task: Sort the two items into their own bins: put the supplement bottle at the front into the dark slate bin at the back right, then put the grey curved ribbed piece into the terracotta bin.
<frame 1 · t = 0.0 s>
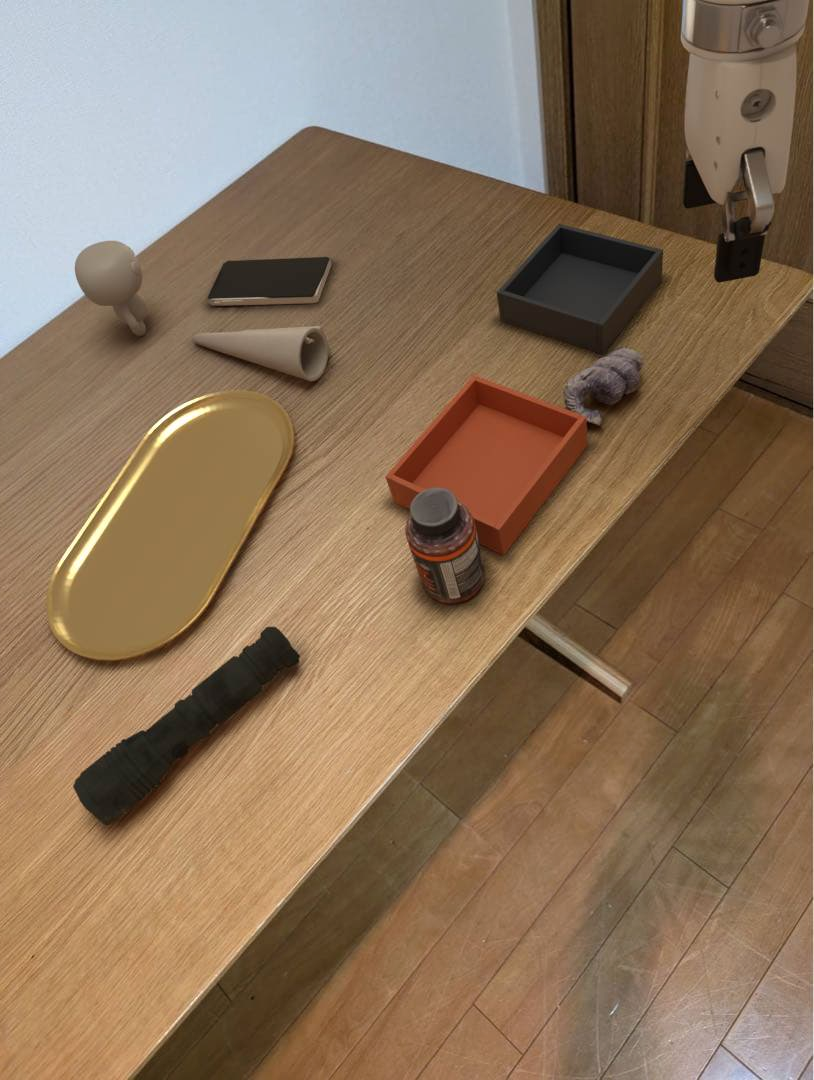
hand: (718, 238, 67), 20 cm above the table, tool pointing down, fingers open, 9 cm apart
long tapered cone: (253, 364, 102), on the table
grey curved ribbed piece: (605, 399, 88), on the table
supplement bottle: (454, 579, 79), on the table
terracotta bin: (490, 473, 85), on the table
figurine: (142, 330, 111), on the table
serving platter: (181, 520, 90), on the table
smartphone: (271, 286, 110), on the table
slate bin: (580, 300, 97), on the table
flashlight: (204, 732, 75), on the table
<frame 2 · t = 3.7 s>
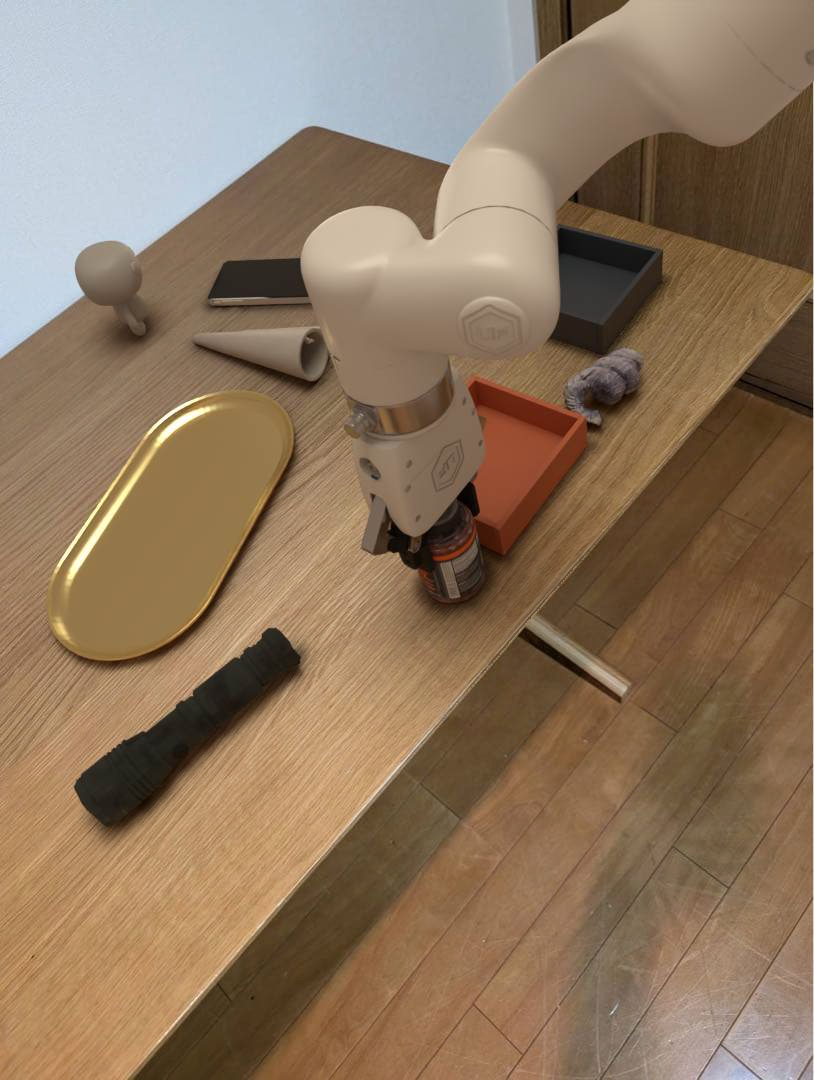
hand: (441, 535, 73), 7 cm above the table, tool pointing down, fingers closed on supplement bottle, 5 cm apart
supplement bottle: (454, 579, 79), on the table, touching gripper
everything else where it was.
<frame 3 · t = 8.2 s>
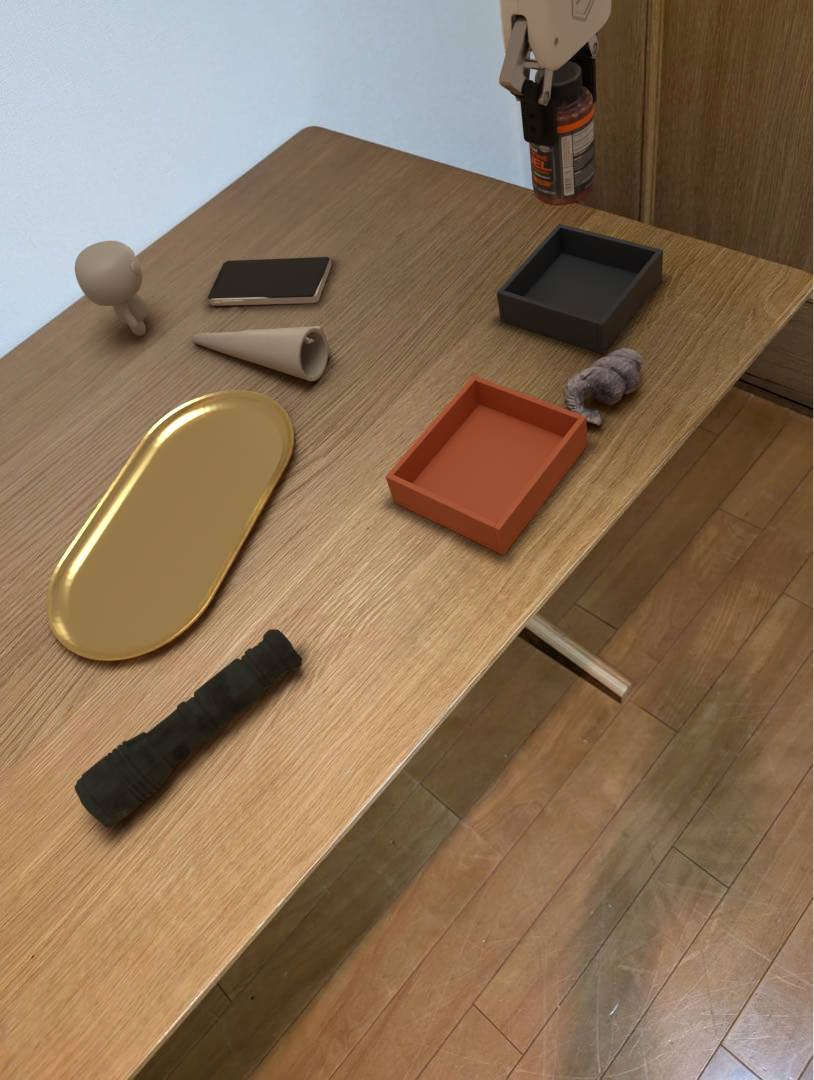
hand: (560, 120, 76), 23 cm above the table, tool pointing down, fingers closed on supplement bottle, 5 cm apart
supplement bottle: (564, 192, 82), point 16 cm above the table, touching gripper
everything else where it was.
when the fingers open (8 cm above the table, at t = 12.5 s): supplement bottle stays where it is, resting on slate bin.
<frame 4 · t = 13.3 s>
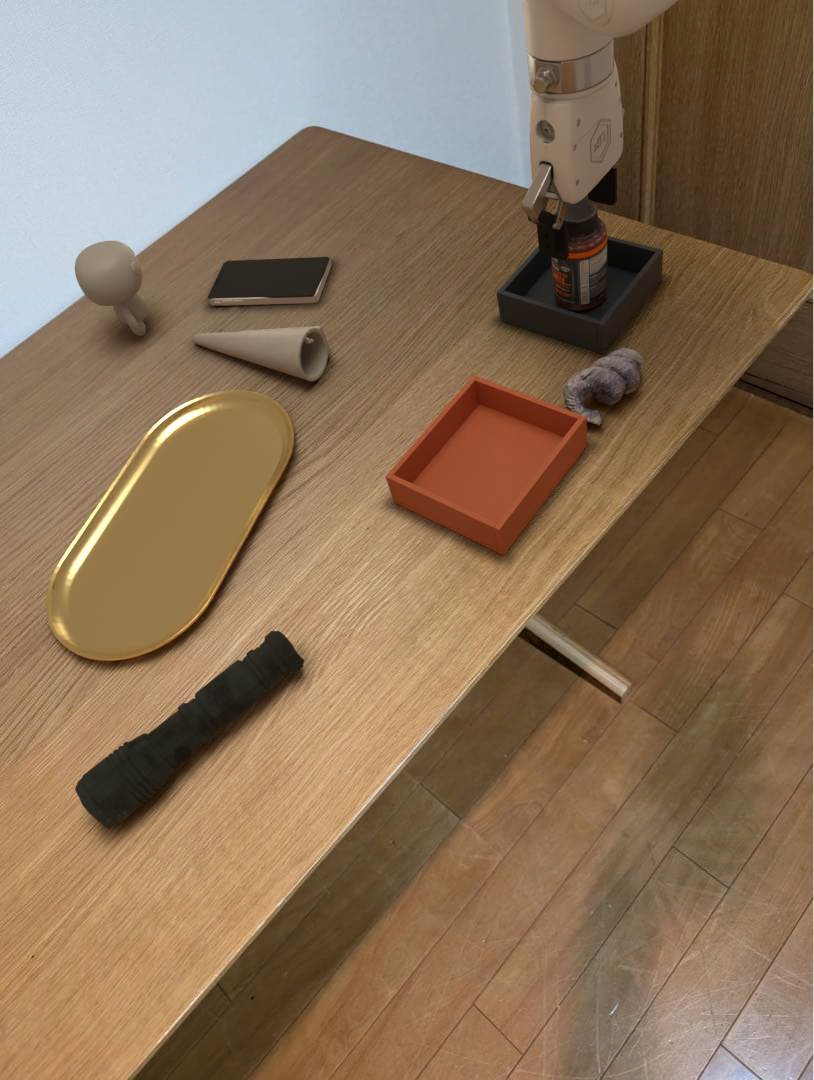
hand: (578, 228, 89), 10 cm above the table, tool pointing down, fingers open, 9 cm apart
supplement bottle: (580, 298, 96), resting on slate bin
everything else where it was.
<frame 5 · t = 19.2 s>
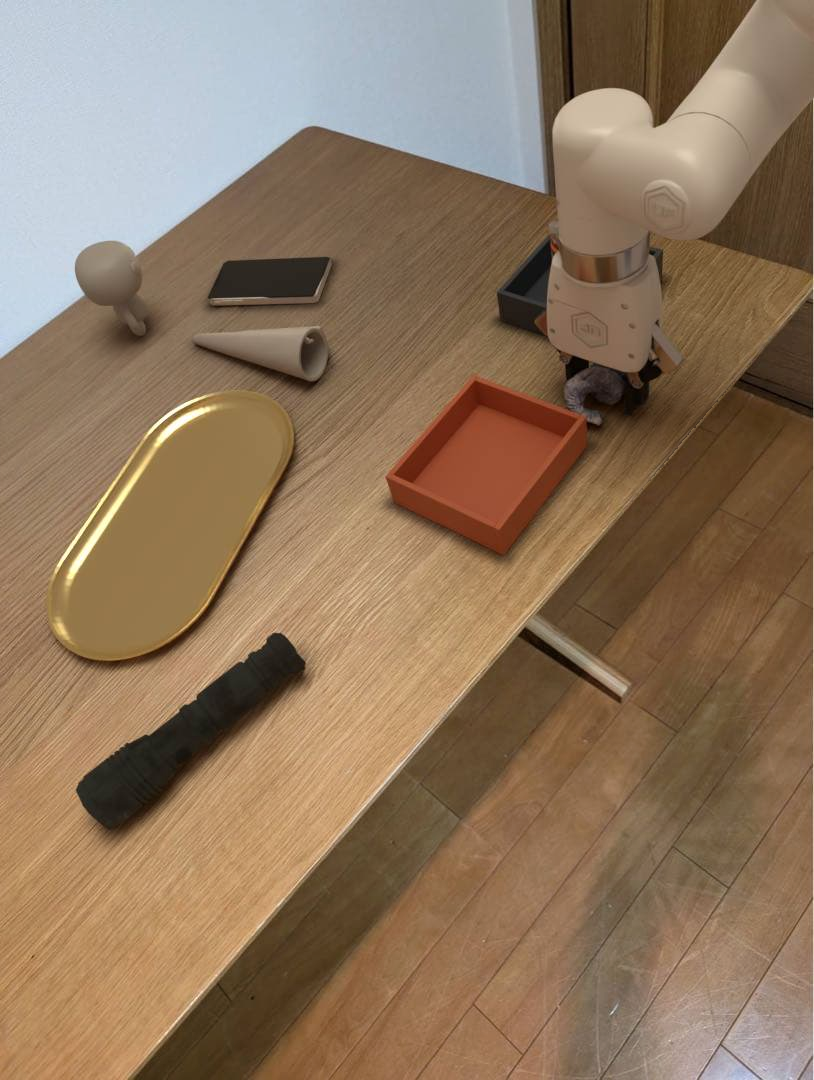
hand: (606, 394, 87), 1 cm above the table, tool pointing down, fingers closed on grey curved ribbed piece, 5 cm apart
grey curved ribbed piece: (605, 398, 88), on the table, touching gripper
everything else where it was.
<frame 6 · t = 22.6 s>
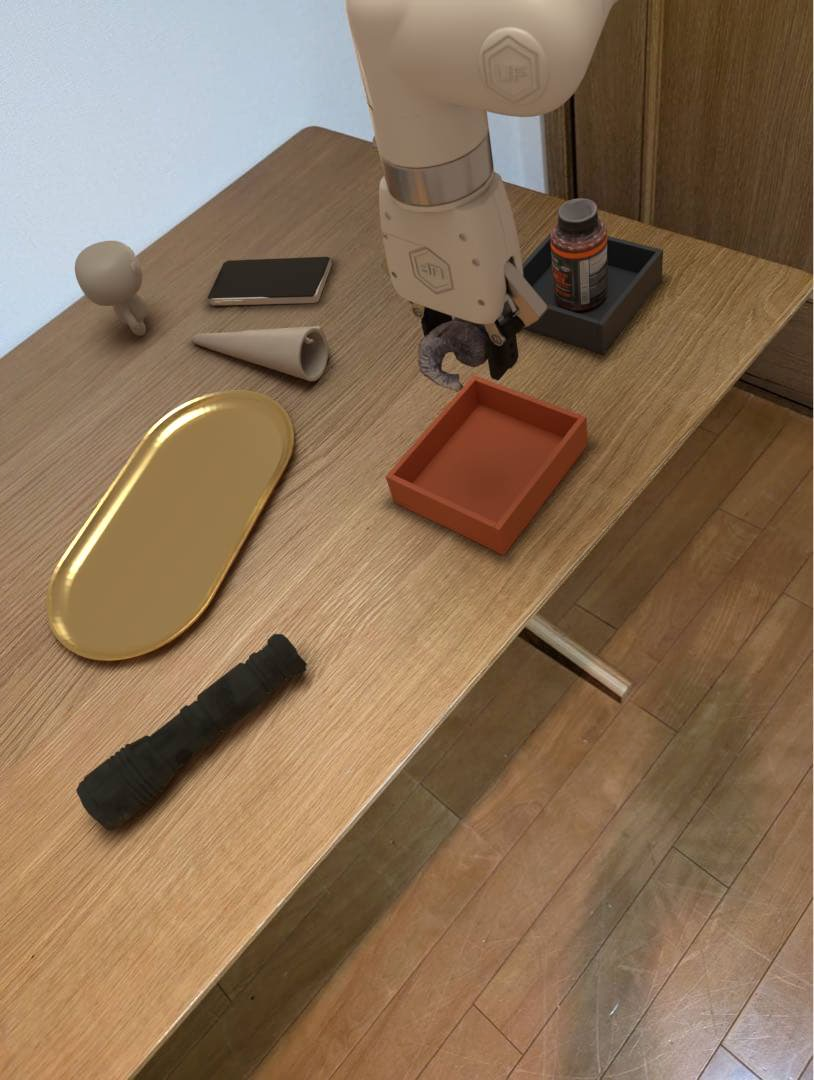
hand: (472, 355, 73), 16 cm above the table, tool pointing down, fingers closed on grey curved ribbed piece, 5 cm apart
grey curved ribbed piece: (472, 361, 73), point 15 cm above the table, touching gripper
everything else where it was.
when the fingers open (2 cm above the table, at t = 26.8 s): grey curved ribbed piece stays where it is, resting on terracotta bin.
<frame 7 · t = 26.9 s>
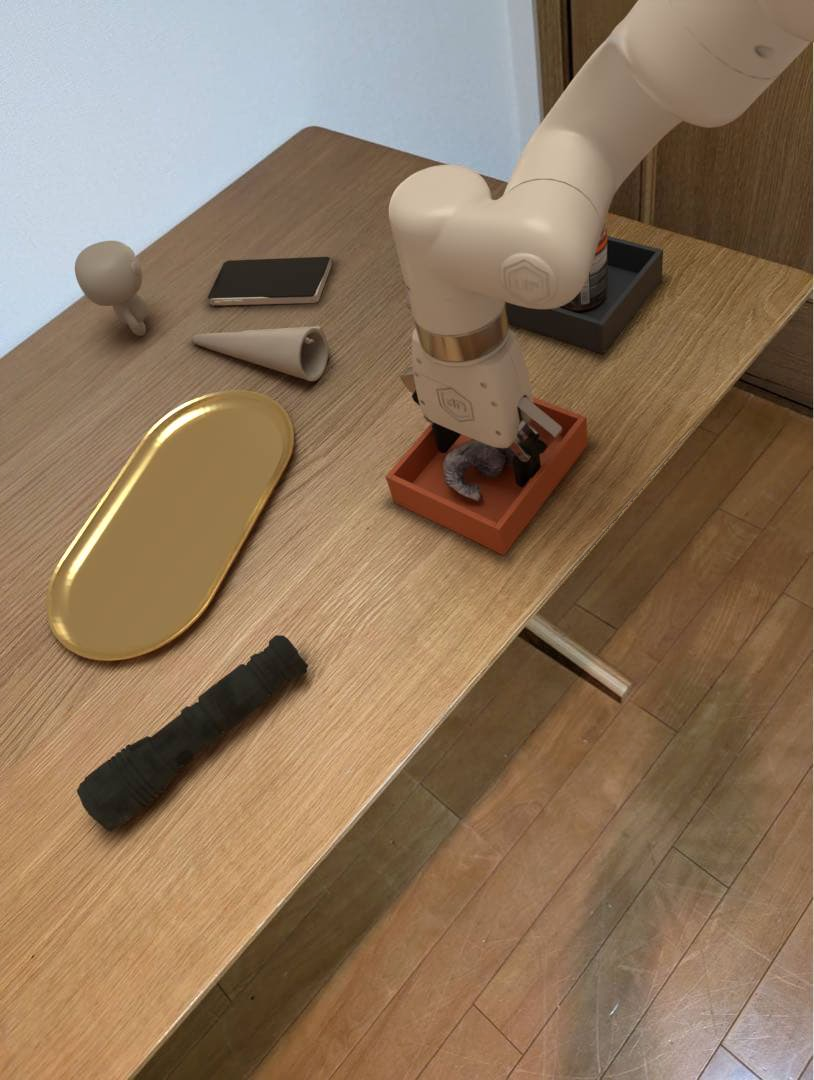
hand: (488, 459, 83), 2 cm above the table, tool pointing down, fingers open, 8 cm apart
grey curved ribbed piece: (489, 470, 85), resting on terracotta bin
everything else where it was.
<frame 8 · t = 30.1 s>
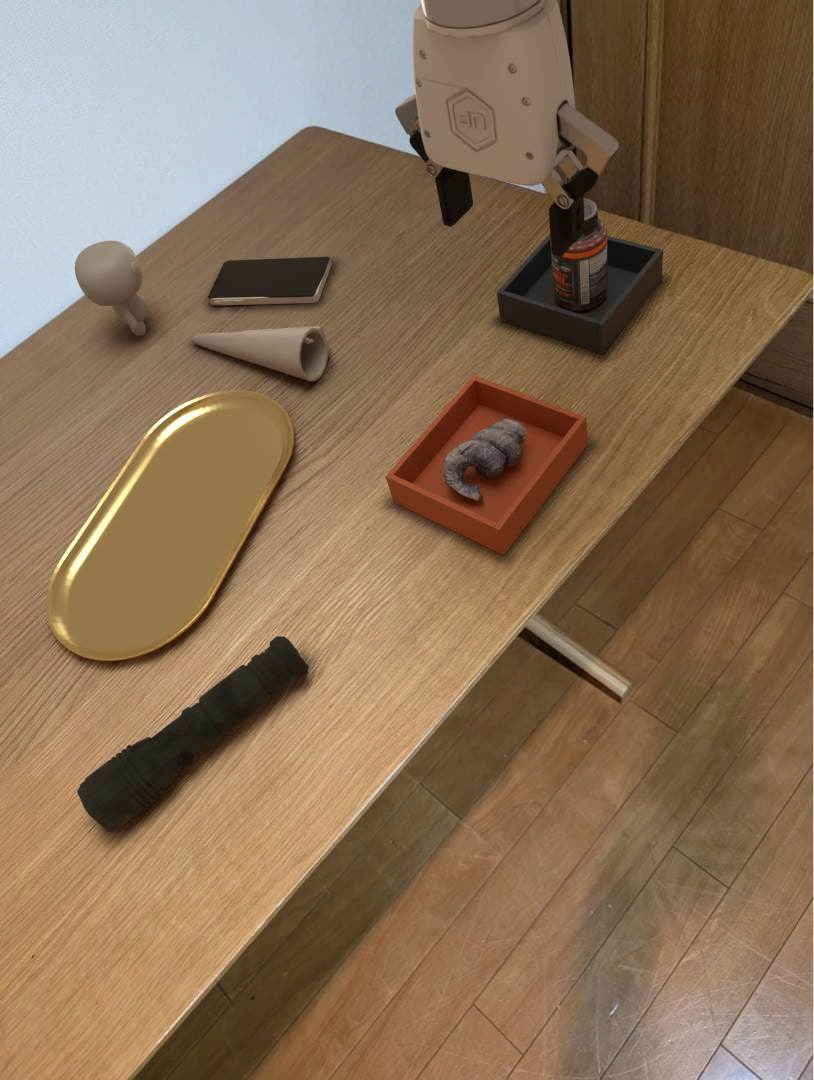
hand: (511, 230, 64), 26 cm above the table, tool pointing down, fingers open, 9 cm apart
at the end: supplement bottle inside the target area in the slate bin (0.1 cm from its centre), point 0.4 cm above the slate bin's base; grey curved ribbed piece inside the target area in the terracotta bin (0.0 cm from its centre), point 0.4 cm above the terracotta bin's base; supplement bottle tilted 0° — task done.
